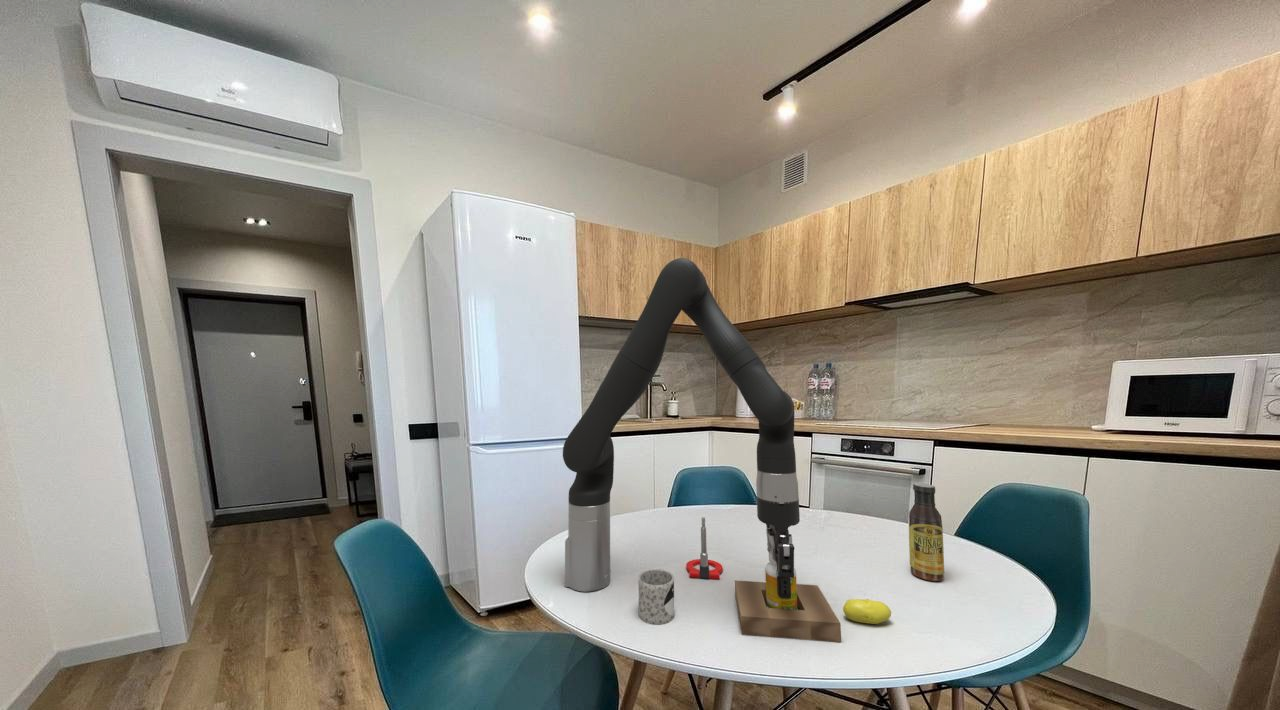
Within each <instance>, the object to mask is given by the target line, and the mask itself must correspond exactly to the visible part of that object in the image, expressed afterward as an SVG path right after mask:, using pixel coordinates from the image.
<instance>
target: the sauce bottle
mask: <svg viewBox="0 0 1280 710" xmlns="http://www.w3.org/2000/svg"><path fill="white" fill-rule="evenodd" d="M912 485H913V488H912V490H913V492H914V503H913V506H912V507H911V509H910V511H909V512H908V513H909V514H908V520H909V521H908V523H909V524H908V542H909V543H908V546H909V548H908V549H909V552H908V553H909V565H910V572H911V574H912V575H913V576H915V577H917V578H919V579H922V580H924V581H929V582H942V581H943V580H944V574H945V556H944V554H945V551H944V549H945V548H944V530H943V521H942V515H941V513H940V512H939V511H938V509H937V507H936V503H935V501H936V499H935V498H936V497H935V494H936V487H935V485H933V484H929V483H922V482H915V483H913V484H912Z"/></svg>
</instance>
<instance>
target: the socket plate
mask: <svg viewBox="0 0 1280 710" xmlns="http://www.w3.org/2000/svg"><path fill="white" fill-rule="evenodd" d="M734 598H735V604H736V610H737V615H738V622H739V627H740V633H741V636H752V637H753V636H756V637H766V638H767V637H768V638H780V639H792V640H793V639H794V640H806V641H815V642H816V641H819V642H820V641H821V642H829V643H830V642H831V643H832V642H833V643H842V631H841V630H842V627H841V622H840V620H839V618H838V617H837V614H835V612H834V610H833V608H832V606H831V605H830V604H829V602H828V601H827V599H826V596H825V595H824V594H823V592H822V591H821V589H820V587H819V585H817V584H805V583H804V584H802V583H801V584H800V583H797V610H792V609H777V608H768V607H767V602H766V581H751V580H750V581H749V580H734Z"/></svg>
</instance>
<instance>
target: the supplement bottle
mask: <svg viewBox="0 0 1280 710" xmlns="http://www.w3.org/2000/svg"><path fill="white" fill-rule="evenodd" d="M776 555H777V556H778V554H776ZM768 561H769V562H768V563H766V565H765V568H764V569H765V582H766V602H767V606H766V607H767V608H777V609H792V610H797V584H798V583H797V570H796V568H795V567H794V578H790V581H791V598H790V599H785V598H779V596H778V594H777V574H776V564H775V561H773V559H772V552H771V551H769V552H768ZM782 569H787V565H783V566H782Z"/></svg>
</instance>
